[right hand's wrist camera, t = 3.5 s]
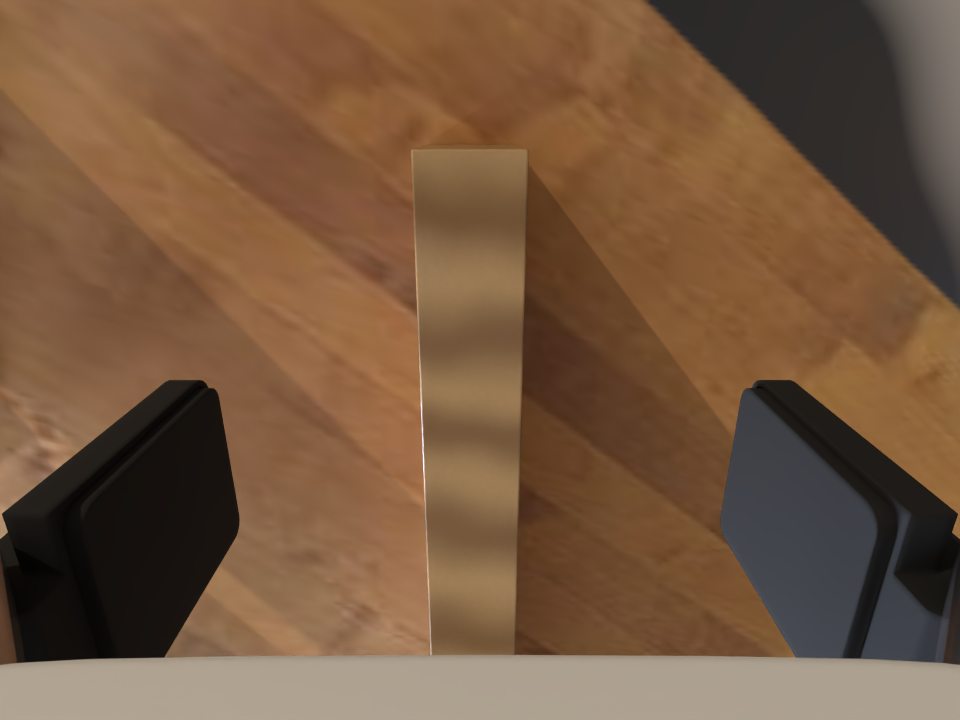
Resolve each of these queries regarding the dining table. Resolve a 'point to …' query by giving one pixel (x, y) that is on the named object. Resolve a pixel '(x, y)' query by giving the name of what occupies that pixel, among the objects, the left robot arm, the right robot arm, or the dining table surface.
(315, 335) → the dining table surface
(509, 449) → the post
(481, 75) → the dining table surface
